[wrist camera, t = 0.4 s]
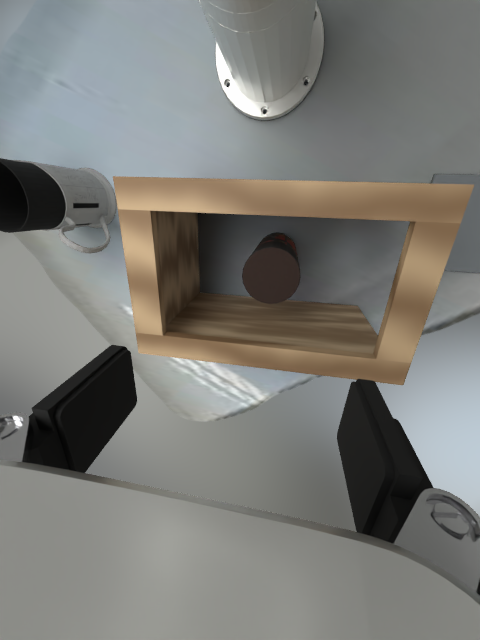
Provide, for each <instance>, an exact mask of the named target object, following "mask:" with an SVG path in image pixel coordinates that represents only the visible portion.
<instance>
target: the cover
mask: <svg viewBox="0 0 480 640" xmlns="http://www.w3.org/2000/svg"><path fill="white" fill-rule="evenodd" d="M113 180H114V187H115V194H116V201H117V207H118V214H119V221H120V228H121V235H122V242H123V248H124V255H125V262H126V269H127V276H128V283H129V289H130V296H131V303H132V310H133V317H134V324H135V330H136V337H137V344H138V351H139V353H143V354H151V355H159V356H167V357H175V358H184V359H192V360H200V361H208V362H216V363H225V364H233V365H241V366H249V367H257V368H266V369H274V370H282V371H290V372H298V373H306V374H315V375H323V376H332V377H340V378H348V379H356V380H357V379H365V380H372V381H374V382H380V383H388V384H397V385H403V384H404V382H405V379H406V376H407V373H408V370H409V367H410V364H411V362H412V359H413V356H414V353H415V351H416V348H417V345H418V342H419V339H420V337H421V334H422V331H423V328H424V325H425V322H426V320H427V317H428V314H429V311H430V308H431V306H432V303H433V300H434V297H435V294H436V291H437V289H438V286H439V283H440V280H441V277H442V275H443V272H444V269H445V266H446V263H447V260H448V258H449V255H450V252H451V249H452V246H453V244H454V241H455V238H456V235H457V232H458V229H459V227H460V224H461V221H462V218H463V215H464V213H465V210H466V207H467V204H468V201H469V198H470V196H471V193H472V190H473V187H474V185H471V184H426V183H382V182H337V181H293V180H248V179H204V178H159V177H115V176H113ZM197 212H198V213H222V214H246V215H270V216H295V217H319V218H343V219H368V220H392V221H410V224H409V227H408V231H407V234H406V238H405V242H404V245H403V249H402V252H401V256H400V260H399V263H398V267H397V270H396V274H395V277H394V281H393V285H392V288H391V292H390V295H389V299H388V302H387V306H386V310H385V313H384V317H383V320H382V324H381V327H380V331H379V335H377V334H376V332H375V331H374V329H373V328H372V326H371V325H370V323H369V322H368V321H367V319H366V318H365V316H364V315H363V313H362V312H361V310H360V309H359V308H358V306H353V305H341V304H329V303H318V302H306V301H294V300H285V301H283V302H280V303H276V304H267V303H262V302H260V301H257V300H256V299H254V298H253V297H247V296H235V295H223V294H212V293H200V276H199V245H198V213H197Z"/></svg>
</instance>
